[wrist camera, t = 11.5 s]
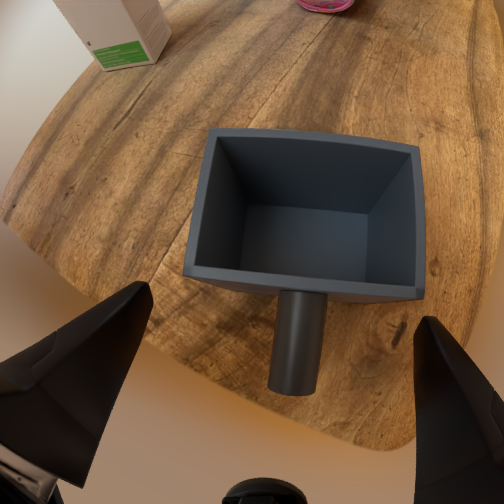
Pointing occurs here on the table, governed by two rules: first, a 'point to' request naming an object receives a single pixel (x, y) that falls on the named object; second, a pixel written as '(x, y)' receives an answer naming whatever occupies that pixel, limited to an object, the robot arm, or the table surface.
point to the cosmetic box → (118, 30)
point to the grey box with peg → (308, 231)
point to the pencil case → (326, 5)
